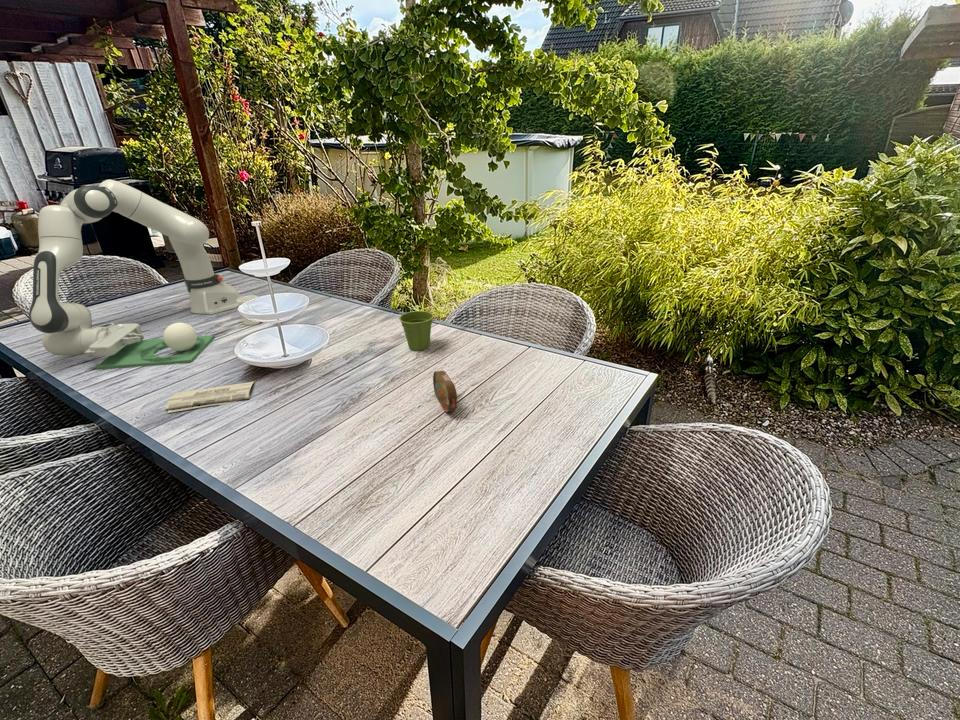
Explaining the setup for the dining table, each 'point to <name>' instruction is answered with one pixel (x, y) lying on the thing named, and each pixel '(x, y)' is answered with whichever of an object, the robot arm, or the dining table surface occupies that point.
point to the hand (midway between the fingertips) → (141, 337)
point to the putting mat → (152, 354)
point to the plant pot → (417, 328)
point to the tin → (445, 391)
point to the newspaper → (209, 396)
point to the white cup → (243, 300)
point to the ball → (180, 336)
